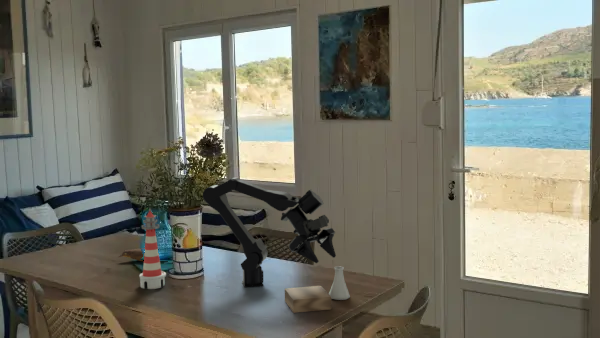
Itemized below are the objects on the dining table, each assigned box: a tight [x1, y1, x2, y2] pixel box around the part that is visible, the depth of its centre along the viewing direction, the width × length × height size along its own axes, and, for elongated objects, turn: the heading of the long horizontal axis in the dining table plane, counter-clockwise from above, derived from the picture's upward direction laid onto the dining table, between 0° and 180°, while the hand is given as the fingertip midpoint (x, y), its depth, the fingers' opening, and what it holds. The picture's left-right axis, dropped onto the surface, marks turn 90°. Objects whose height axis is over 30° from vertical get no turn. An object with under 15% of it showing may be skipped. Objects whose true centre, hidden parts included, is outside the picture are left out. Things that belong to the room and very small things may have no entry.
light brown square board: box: [284, 285, 332, 313], centre depth 194 cm, size 12×12×4 cm
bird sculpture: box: [117, 248, 144, 262], centre depth 252 cm, size 7×25×5 cm, turn 102°
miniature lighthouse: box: [138, 208, 167, 290], centre depth 215 cm, size 9×9×30 cm
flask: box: [328, 265, 351, 301], centre depth 202 cm, size 7×7×10 cm
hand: (326, 259), depth 204 cm, fingers open, 9 cm apart
